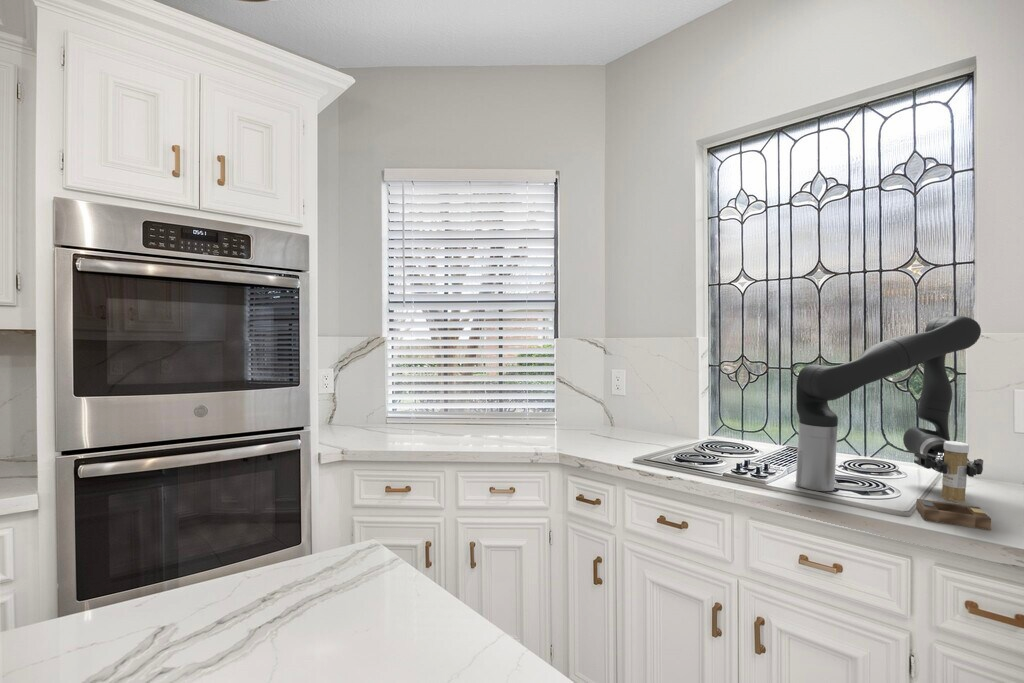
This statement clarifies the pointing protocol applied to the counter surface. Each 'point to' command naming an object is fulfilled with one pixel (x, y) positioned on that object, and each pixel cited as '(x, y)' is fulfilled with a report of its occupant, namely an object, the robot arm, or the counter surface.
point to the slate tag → (927, 504)
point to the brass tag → (977, 511)
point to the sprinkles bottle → (955, 471)
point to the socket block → (953, 514)
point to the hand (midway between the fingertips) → (958, 470)
